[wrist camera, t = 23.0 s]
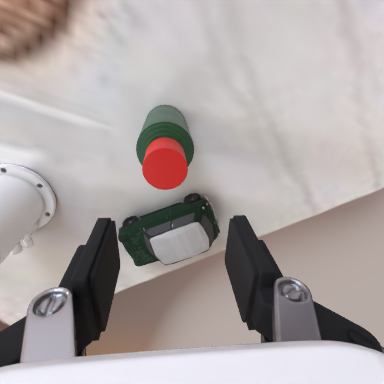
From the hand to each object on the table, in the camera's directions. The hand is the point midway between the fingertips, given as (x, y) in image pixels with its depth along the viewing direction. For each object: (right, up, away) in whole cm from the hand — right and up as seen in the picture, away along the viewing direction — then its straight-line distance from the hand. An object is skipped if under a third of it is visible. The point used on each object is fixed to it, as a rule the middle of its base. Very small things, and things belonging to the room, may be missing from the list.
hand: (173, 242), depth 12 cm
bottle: (-3, +13, +26) cm, 30 cm away
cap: (-2, +6, +13) cm, 14 cm away
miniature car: (-3, -3, +35) cm, 35 cm away
